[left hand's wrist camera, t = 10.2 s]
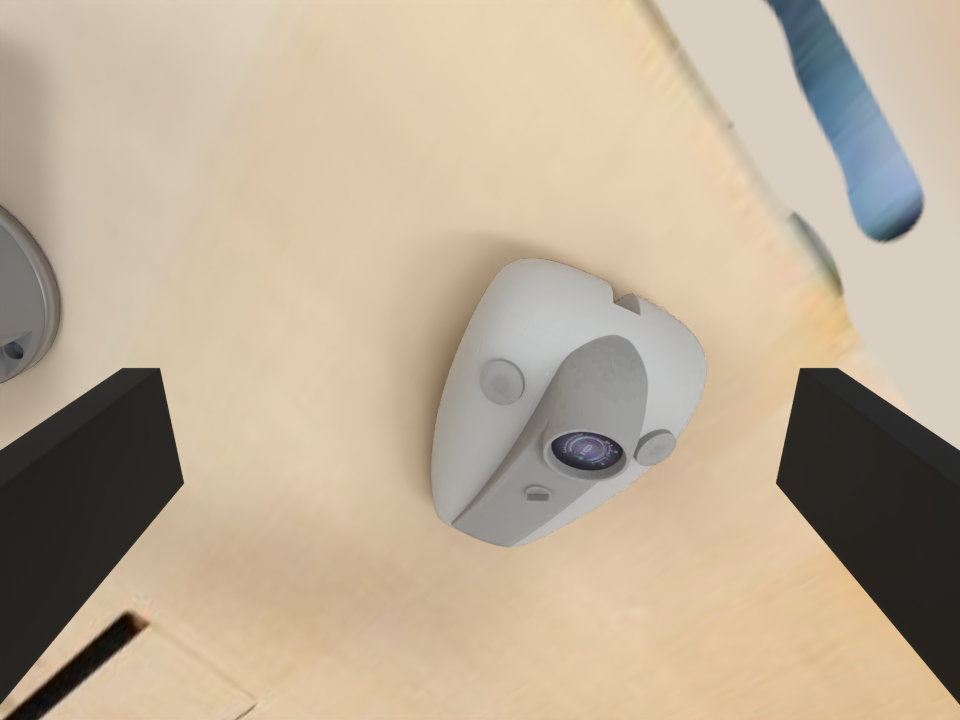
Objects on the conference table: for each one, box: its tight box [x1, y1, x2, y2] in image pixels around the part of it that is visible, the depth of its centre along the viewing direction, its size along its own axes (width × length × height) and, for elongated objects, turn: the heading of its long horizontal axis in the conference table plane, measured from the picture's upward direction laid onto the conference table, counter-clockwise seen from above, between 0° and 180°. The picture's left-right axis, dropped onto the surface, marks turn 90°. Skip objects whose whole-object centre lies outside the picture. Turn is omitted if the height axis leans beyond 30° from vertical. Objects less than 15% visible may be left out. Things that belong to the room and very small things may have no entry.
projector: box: [431, 258, 707, 547], centre depth 40 cm, size 22×23×15 cm
